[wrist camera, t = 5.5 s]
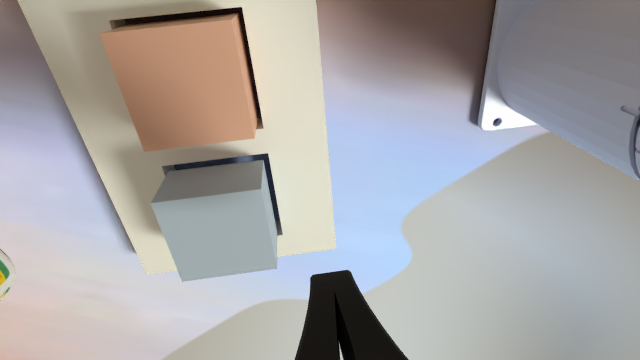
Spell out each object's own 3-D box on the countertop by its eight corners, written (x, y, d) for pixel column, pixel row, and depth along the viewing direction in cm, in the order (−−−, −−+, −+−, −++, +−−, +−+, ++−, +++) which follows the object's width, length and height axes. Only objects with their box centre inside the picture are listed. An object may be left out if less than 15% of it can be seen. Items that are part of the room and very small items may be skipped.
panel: (288, -286, 12) (289, -321, 11) (332, 233, 24) (336, 248, 22) (-75, -262, 11) (-123, -296, 10) (154, 257, 23) (146, 274, 22)
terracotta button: (238, 13, 16) (231, 19, 13) (257, 116, 19) (254, 138, 16) (128, 24, 16) (99, 33, 13) (163, 127, 18) (144, 151, 16)
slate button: (263, 159, 19) (261, 189, 16) (277, 232, 21) (277, 268, 18) (168, 171, 18) (150, 203, 16) (194, 243, 21) (182, 281, 18)
